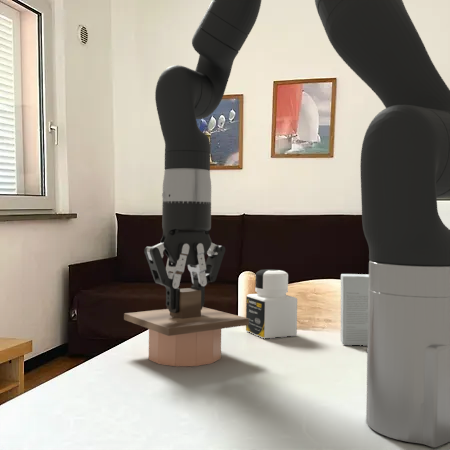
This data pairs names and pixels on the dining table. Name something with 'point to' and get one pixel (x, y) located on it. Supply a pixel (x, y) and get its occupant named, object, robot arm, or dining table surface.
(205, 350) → the terracotta bowl
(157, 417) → the dining table surface
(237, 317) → the walnut lid
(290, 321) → the medicine bottle
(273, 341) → the dining table surface
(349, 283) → the skincare box
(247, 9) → the robot arm
